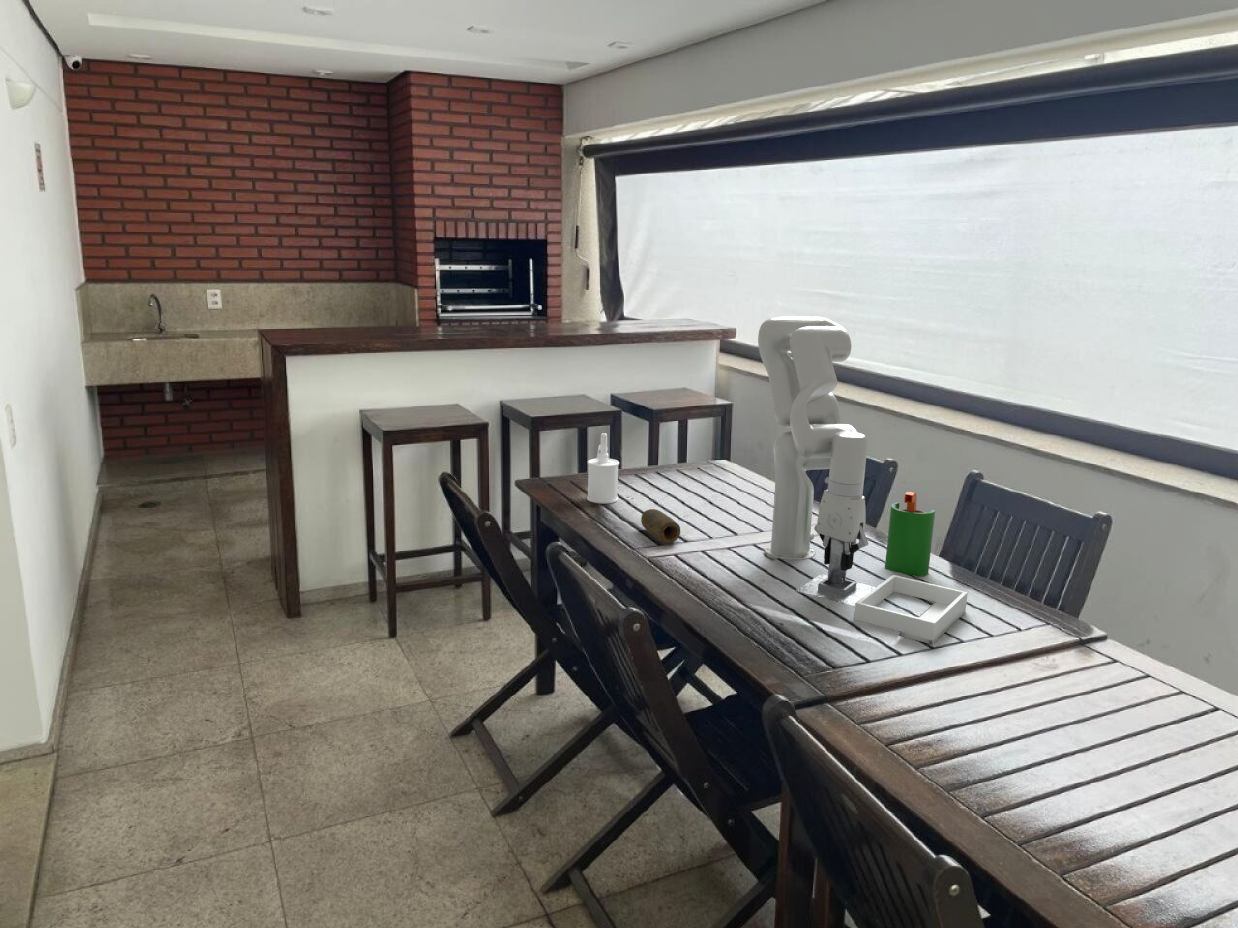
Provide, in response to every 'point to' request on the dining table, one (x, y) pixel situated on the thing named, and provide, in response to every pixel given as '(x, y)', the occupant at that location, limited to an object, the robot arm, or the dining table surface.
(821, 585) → the socket plate
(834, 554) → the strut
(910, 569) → the motor
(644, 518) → the stone weight
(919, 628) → the bin
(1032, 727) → the dining table surface
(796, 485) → the robot arm
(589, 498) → the white spout bottle
